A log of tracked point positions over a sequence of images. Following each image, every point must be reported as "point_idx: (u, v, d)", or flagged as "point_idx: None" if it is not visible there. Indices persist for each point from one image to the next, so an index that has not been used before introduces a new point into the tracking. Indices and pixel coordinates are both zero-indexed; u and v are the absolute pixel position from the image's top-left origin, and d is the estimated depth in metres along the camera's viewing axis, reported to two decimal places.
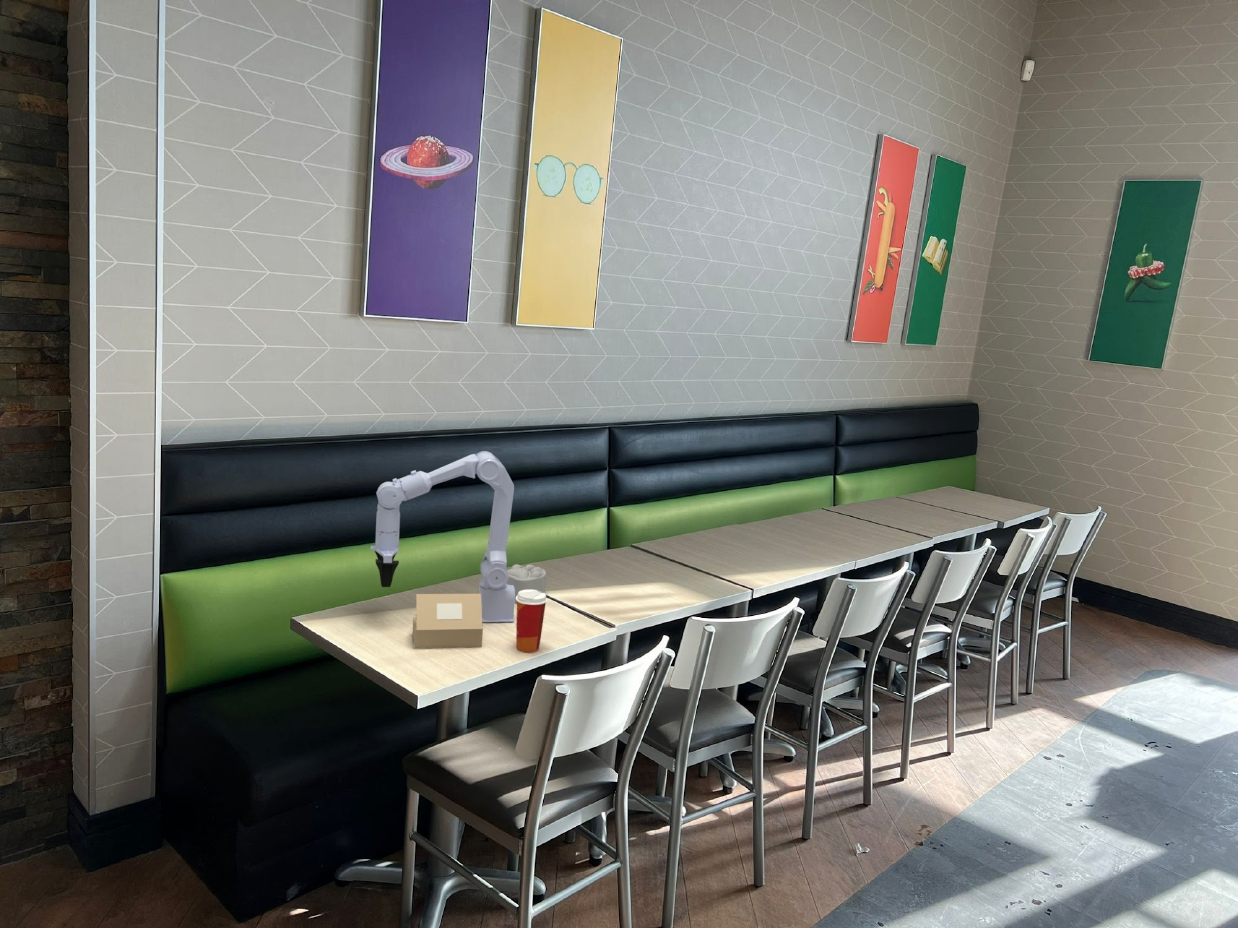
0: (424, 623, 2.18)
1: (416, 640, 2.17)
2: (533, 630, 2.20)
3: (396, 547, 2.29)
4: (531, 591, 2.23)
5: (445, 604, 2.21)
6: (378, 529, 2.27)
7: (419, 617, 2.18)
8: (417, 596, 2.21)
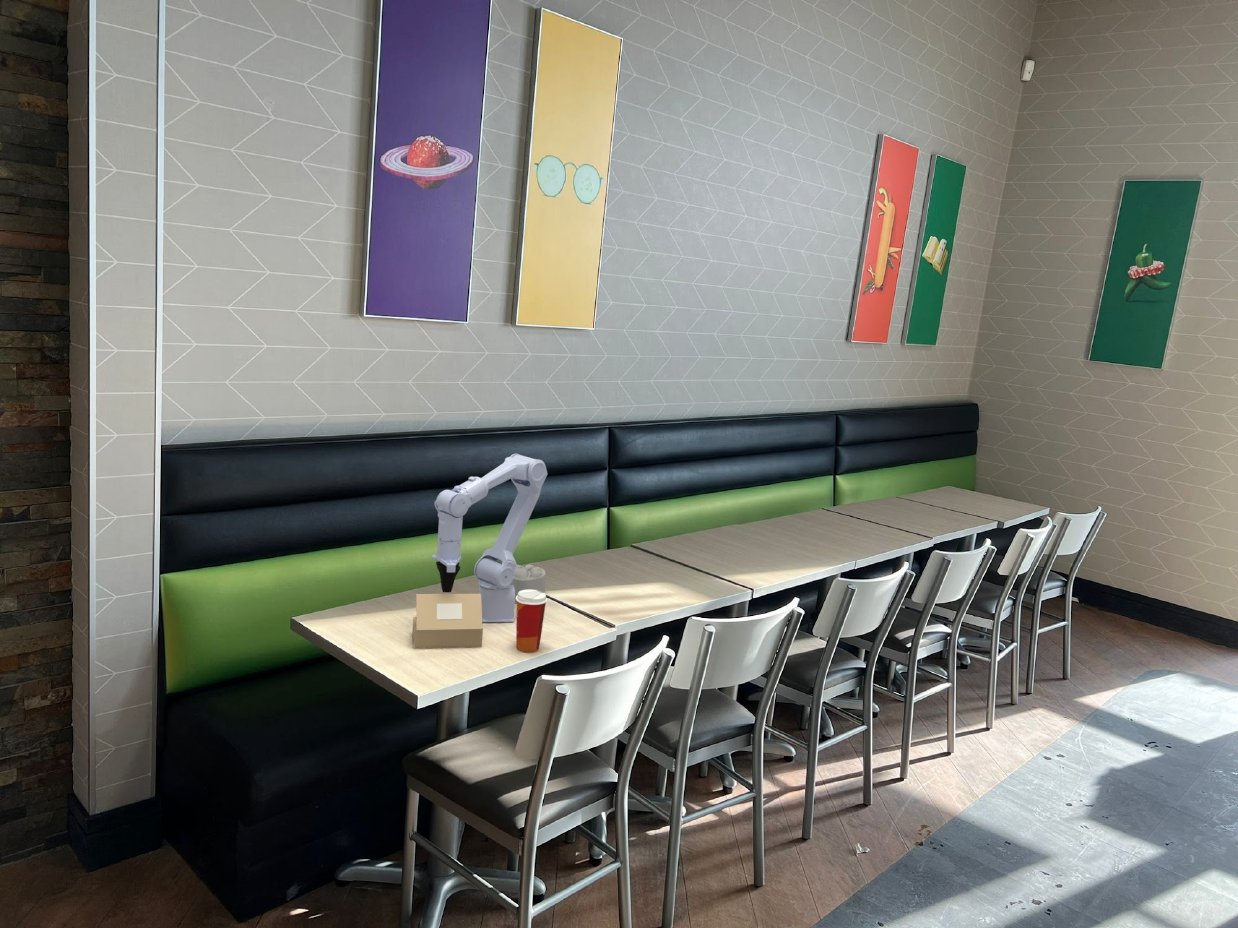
0: (424, 623, 2.18)
1: (416, 640, 2.17)
2: (533, 630, 2.20)
3: (458, 556, 2.26)
4: (531, 591, 2.23)
5: (445, 604, 2.21)
6: (446, 539, 2.23)
7: (419, 617, 2.18)
8: (417, 596, 2.21)
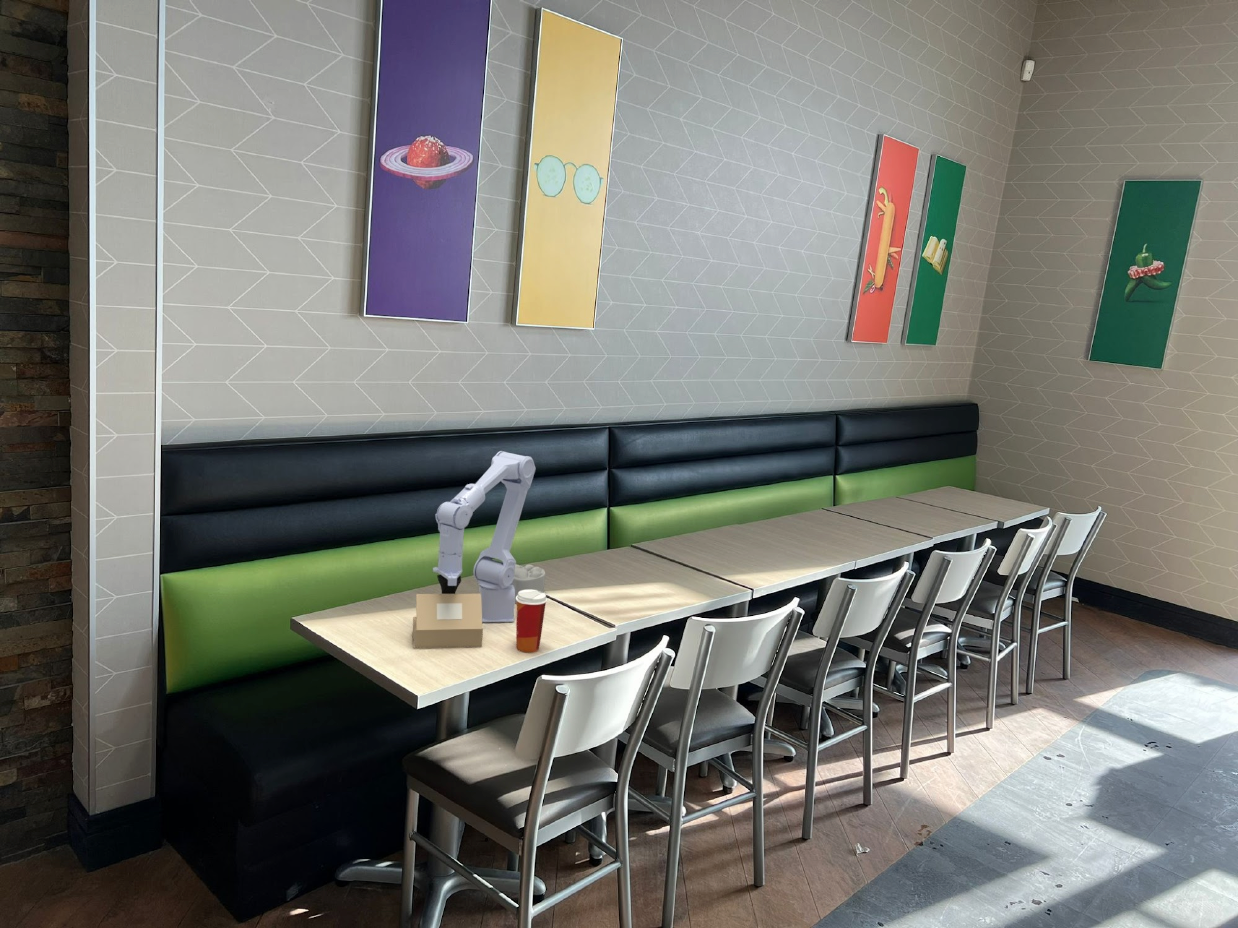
0: (424, 623, 2.18)
1: (416, 640, 2.17)
2: (533, 630, 2.20)
3: (459, 569, 2.22)
4: (531, 591, 2.23)
5: (445, 604, 2.21)
6: (449, 552, 2.19)
7: (419, 617, 2.18)
8: (417, 596, 2.21)
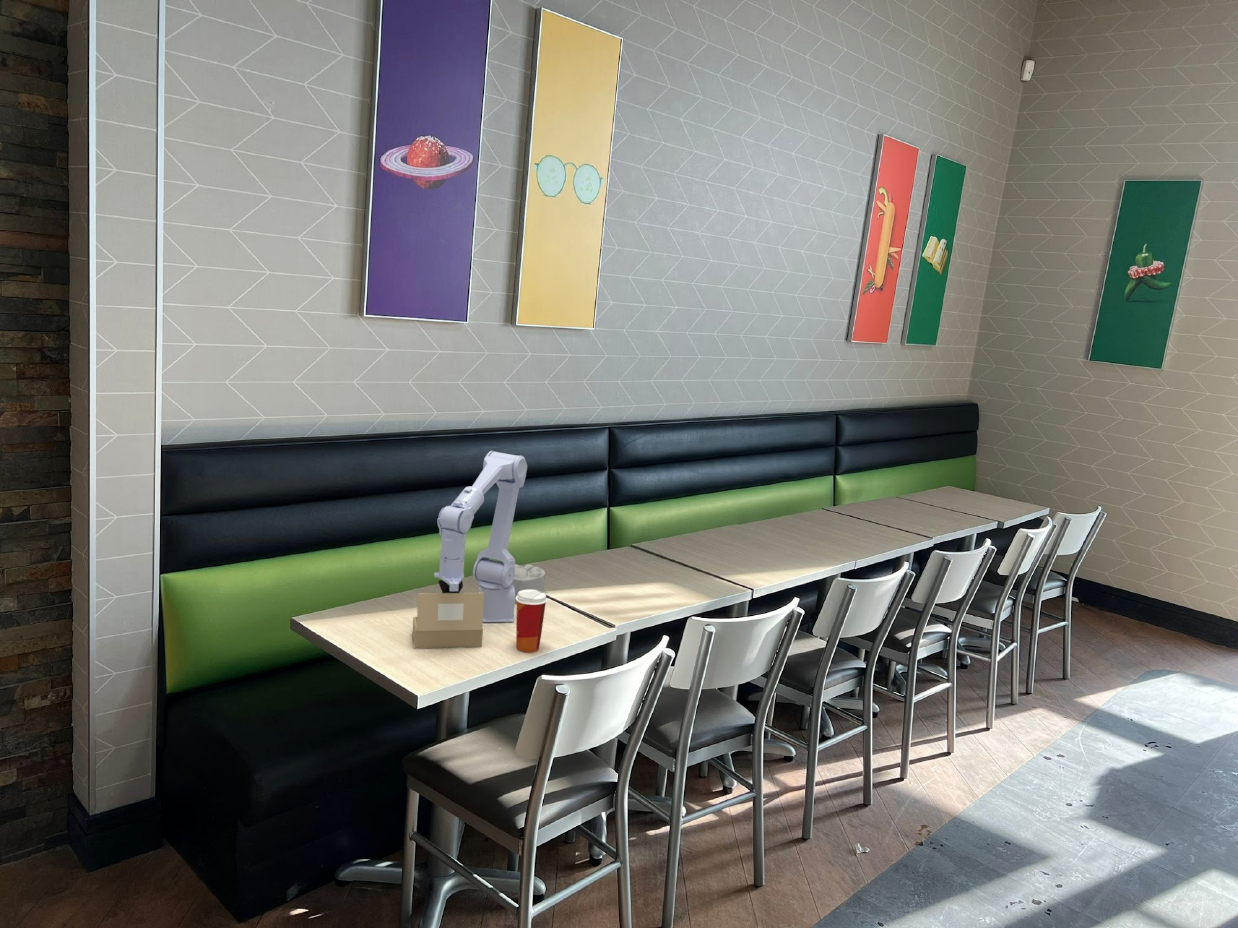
0: (424, 624, 2.17)
1: (416, 640, 2.17)
2: (533, 630, 2.20)
3: (461, 574, 2.18)
4: (531, 591, 2.23)
5: (447, 604, 2.18)
6: (453, 557, 2.16)
7: (420, 618, 2.17)
8: (419, 596, 2.16)
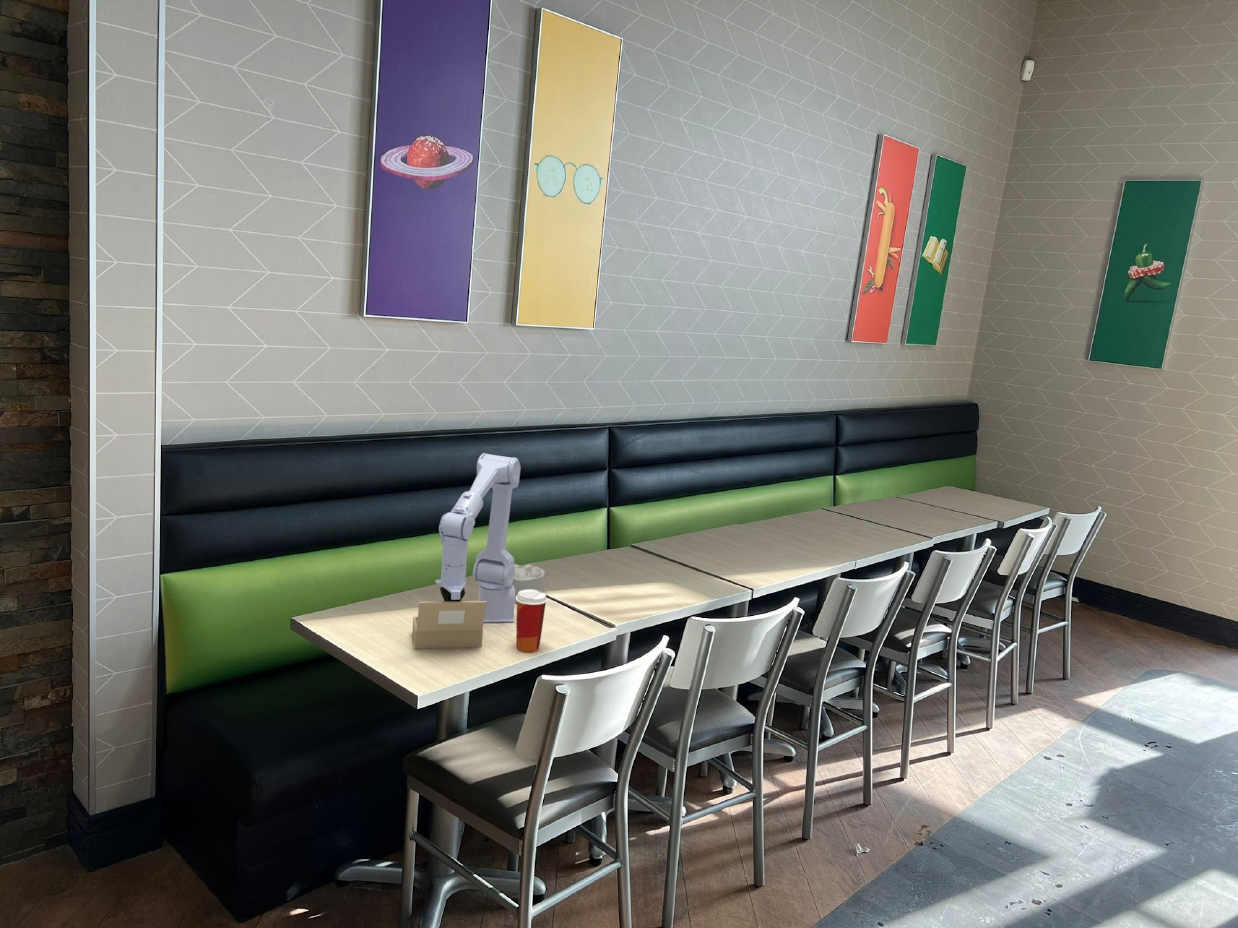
0: (424, 626, 2.16)
1: (416, 640, 2.17)
2: (533, 630, 2.20)
3: (463, 581, 2.14)
4: (531, 591, 2.23)
5: (448, 611, 2.15)
6: (456, 564, 2.12)
7: (420, 621, 2.15)
8: (420, 604, 2.12)
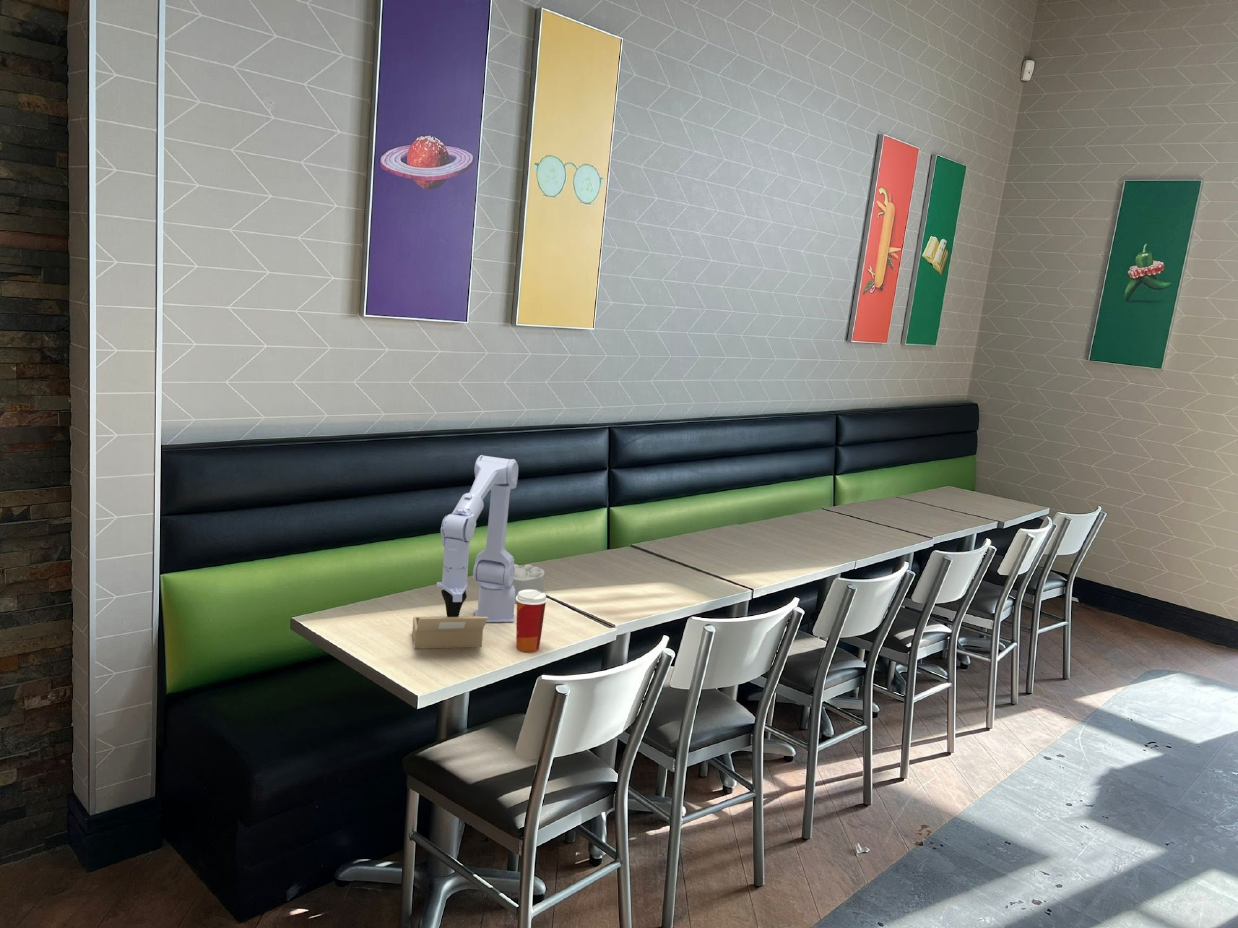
0: (425, 629, 2.16)
1: (416, 640, 2.17)
2: (533, 630, 2.20)
3: (465, 584, 2.12)
4: (531, 591, 2.23)
5: (448, 622, 2.14)
6: (458, 566, 2.09)
7: (420, 627, 2.14)
8: (420, 619, 2.10)
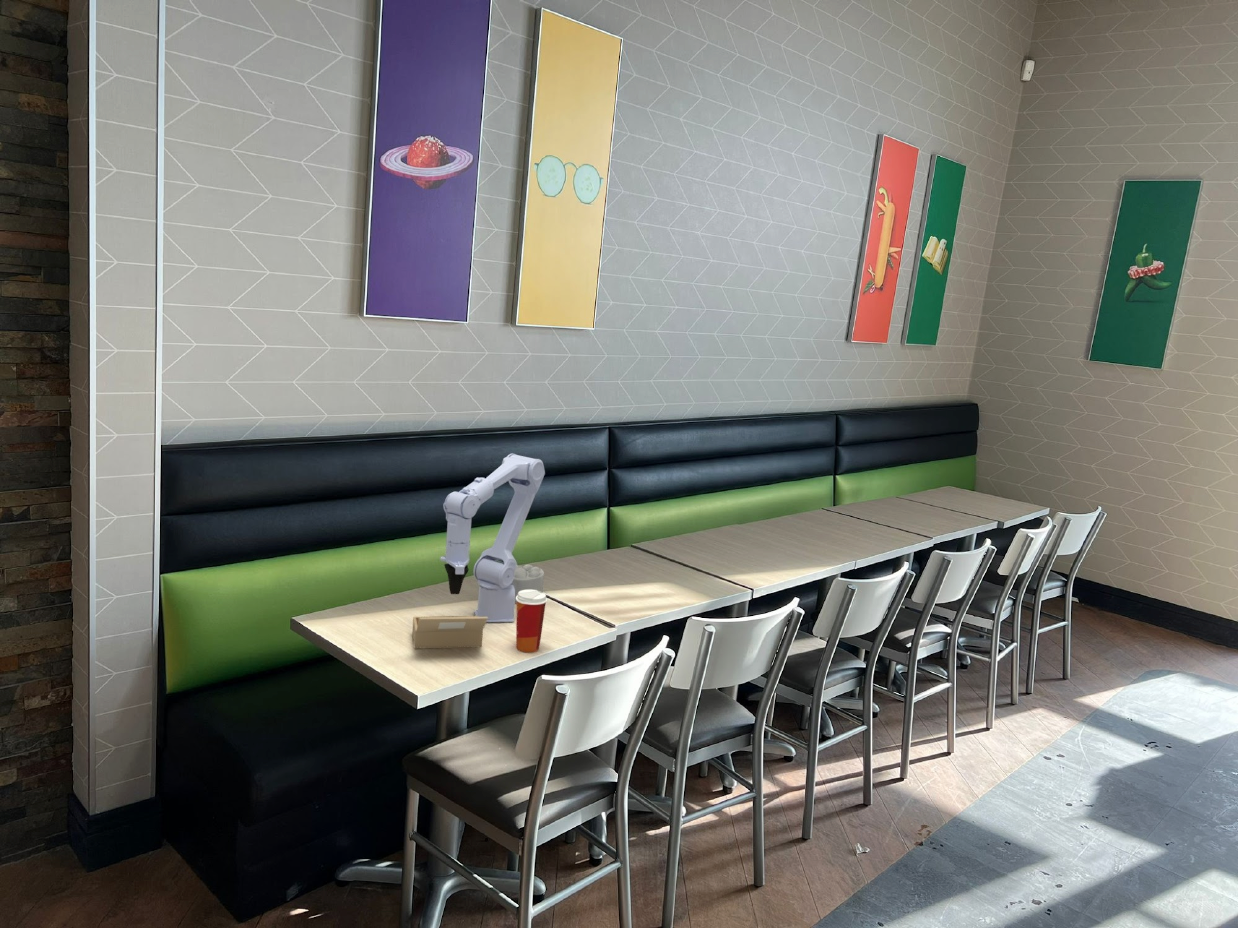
0: (425, 629, 2.16)
1: (416, 640, 2.17)
2: (533, 630, 2.20)
3: (467, 558, 2.25)
4: (531, 591, 2.23)
5: (448, 622, 2.14)
6: (457, 541, 2.22)
7: (420, 627, 2.14)
8: (420, 620, 2.10)
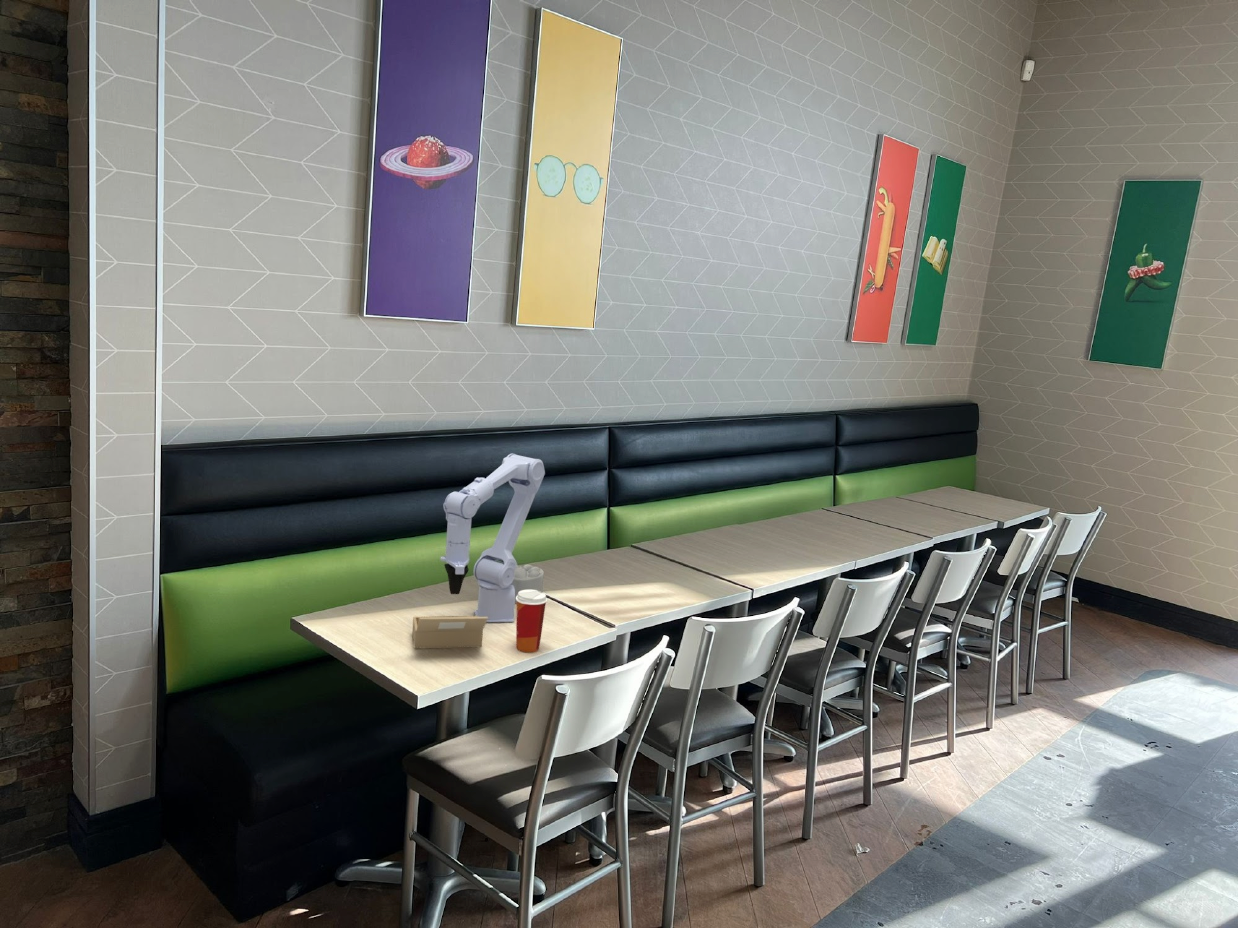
0: (425, 629, 2.16)
1: (416, 640, 2.17)
2: (533, 630, 2.20)
3: (467, 558, 2.25)
4: (531, 591, 2.23)
5: (448, 622, 2.14)
6: (457, 541, 2.22)
7: (420, 627, 2.14)
8: (420, 620, 2.10)
